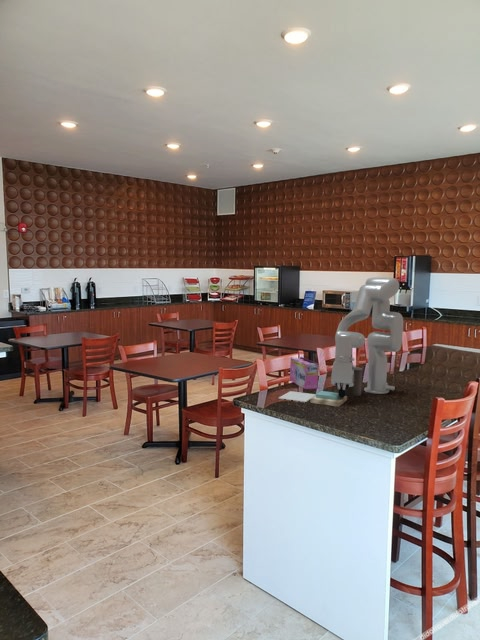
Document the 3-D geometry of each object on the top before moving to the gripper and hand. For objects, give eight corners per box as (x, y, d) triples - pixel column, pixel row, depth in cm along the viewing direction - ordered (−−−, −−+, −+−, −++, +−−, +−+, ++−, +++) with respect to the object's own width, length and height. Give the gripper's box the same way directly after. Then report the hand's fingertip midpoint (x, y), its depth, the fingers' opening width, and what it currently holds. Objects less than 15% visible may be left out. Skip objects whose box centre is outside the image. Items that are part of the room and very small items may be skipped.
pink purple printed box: (288, 380, 282) (289, 356, 281) (301, 379, 284) (301, 356, 283) (305, 389, 259) (305, 364, 258) (318, 388, 261) (319, 363, 260)
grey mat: (316, 395, 246) (316, 394, 246) (305, 402, 231) (305, 401, 231) (290, 392, 252) (290, 391, 252) (278, 398, 238) (278, 397, 238)
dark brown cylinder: (347, 397, 243) (348, 367, 242) (338, 392, 253) (339, 364, 251) (364, 396, 246) (366, 367, 245) (355, 391, 255) (356, 363, 254)
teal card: (340, 396, 236) (340, 393, 236) (336, 400, 229) (336, 396, 229) (321, 394, 240) (321, 390, 240) (315, 397, 233) (316, 394, 233)
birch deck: (346, 399, 237) (347, 395, 237) (339, 406, 225) (339, 402, 225) (319, 396, 244) (319, 392, 244) (310, 402, 231) (310, 398, 231)
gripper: (360, 359, 230) (359, 397, 231) (330, 356, 236) (328, 393, 238) (357, 362, 223) (355, 401, 225) (325, 359, 230) (324, 397, 231)
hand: (341, 397), depth 231 cm, fingers closed
